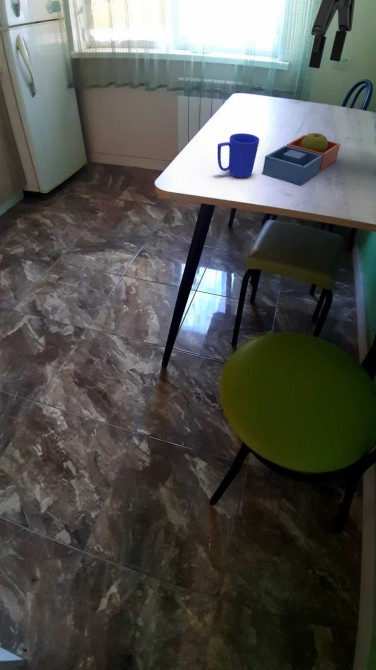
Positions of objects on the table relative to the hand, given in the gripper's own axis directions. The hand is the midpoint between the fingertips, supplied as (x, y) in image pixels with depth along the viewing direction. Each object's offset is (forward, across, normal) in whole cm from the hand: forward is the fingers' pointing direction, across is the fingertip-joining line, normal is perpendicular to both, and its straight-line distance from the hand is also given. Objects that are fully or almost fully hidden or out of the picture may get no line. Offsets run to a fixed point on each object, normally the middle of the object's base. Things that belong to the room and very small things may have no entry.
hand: (324, 64), depth 108 cm
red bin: (+27, -6, 0) cm, 27 cm away
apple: (+26, -6, 0) cm, 27 cm away
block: (+26, +8, 0) cm, 27 cm away
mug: (+27, +20, -12) cm, 36 cm away
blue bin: (+27, +8, 0) cm, 28 cm away
